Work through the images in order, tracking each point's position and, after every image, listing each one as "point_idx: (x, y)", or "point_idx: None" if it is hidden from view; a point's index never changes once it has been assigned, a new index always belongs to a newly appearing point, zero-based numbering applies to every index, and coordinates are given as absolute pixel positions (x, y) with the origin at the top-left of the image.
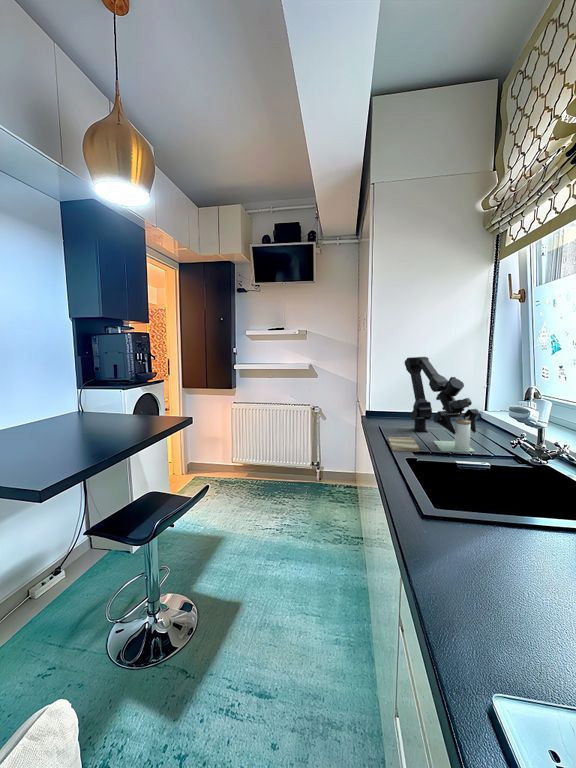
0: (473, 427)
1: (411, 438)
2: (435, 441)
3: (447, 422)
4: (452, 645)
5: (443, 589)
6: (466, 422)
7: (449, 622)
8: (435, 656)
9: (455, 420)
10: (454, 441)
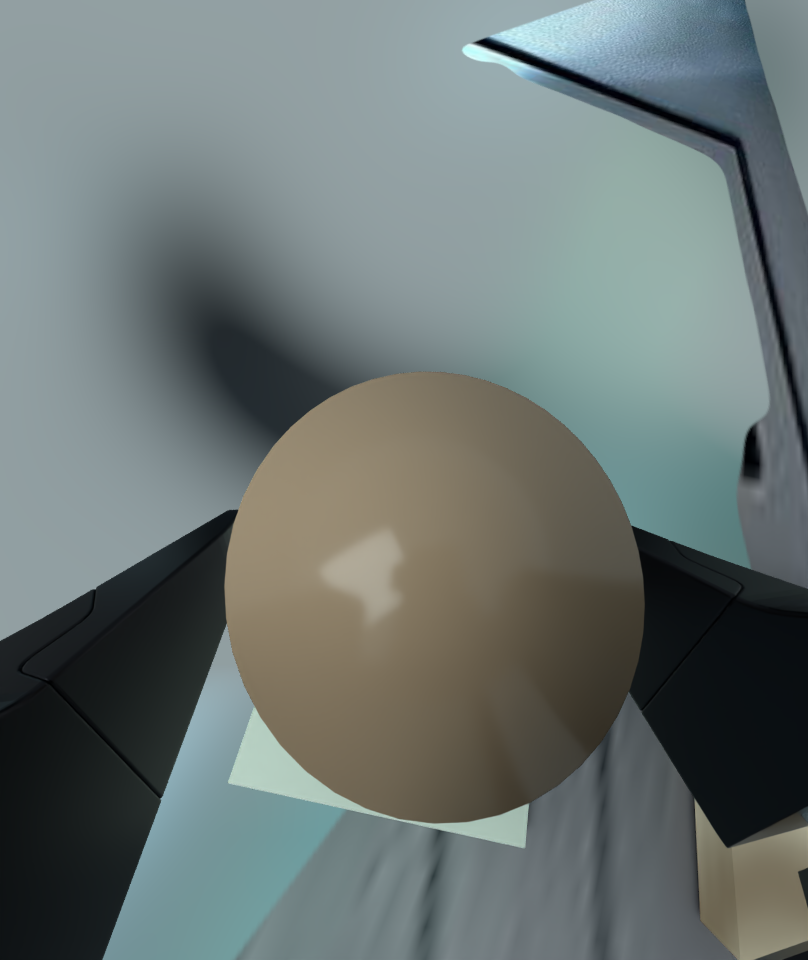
0: (215, 542)
1: (749, 906)
2: (514, 814)
3: (784, 588)
4: (734, 18)
5: (730, 47)
6: (461, 379)
7: (732, 28)
8: (749, 18)
9: (639, 618)
10: (327, 794)
